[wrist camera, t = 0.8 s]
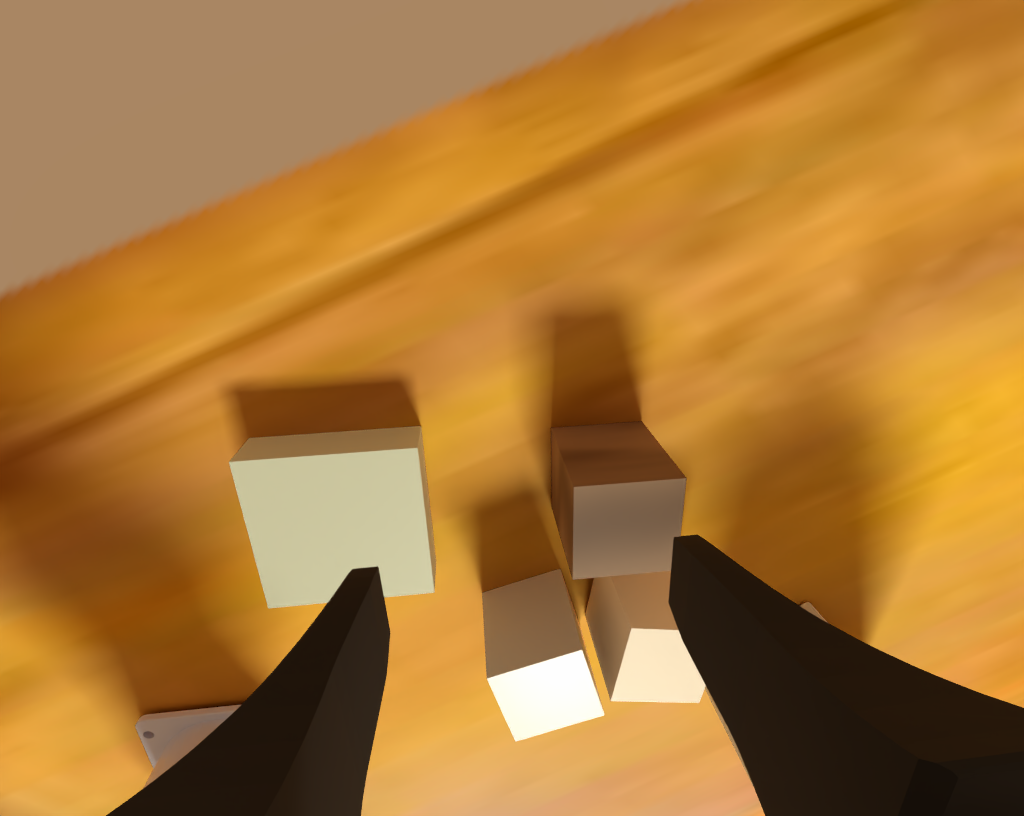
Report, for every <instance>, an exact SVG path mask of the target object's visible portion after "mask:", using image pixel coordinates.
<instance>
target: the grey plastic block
mask: <svg viewBox="0 0 1024 816" xmlns="http://www.w3.org/2000/svg"><path fill="white" fill-rule="evenodd" d="M482 599H483V618H484V636H485V654H486V672H487V680H488V682H489V684H490V687H491V689H492V691H493V693H494V695H495V698H496V700H497V702H498V704H499V706H500V709H501V711H502V713H503V715H504V717H505V719H506V722H507V724H508V726H509V728H510V730H511V733H512V735H513V737H514V739H515V741H519V740H522V739H526V738H529V737H533V736H536V735H539V734H543V733H546V732H549V731H553V730H556V729H559V728H563V727H566V726H569V725H573V724H576V723H580V722H583V721H586V720H590V719H593V718H596V717H600V716H603V715H604V712H603V708H602V704H601V701H600V697H599V693H598V690H597V686H596V683H595V679H594V675H593V672H592V668H591V664H590V661H589V657H588V653H587V650H586V646H585V643H584V639H583V635H582V632H581V628H580V625H579V622H578V619H577V616H576V613H575V610H574V607H573V604H572V601H571V598H570V595H569V592H568V589H567V586H566V583H565V581H564V578H563V575H562V572H561V569H557V570H554V571H551V572H547V573H544V574H541V575H538V576H534V577H531V578H528V579H525V580H521V581H518V582H515V583H512V584H509V585H505V586H502V587H499V588H496V589H492V590H489V591H486V592H483V593H482Z"/></svg>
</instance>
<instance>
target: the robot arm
mask: <svg viewBox="0 0 1024 816" xmlns="http://www.w3.org/2000/svg"><path fill="white" fill-rule="evenodd" d="M668 603H669V606H670V608H671V611H672V614H673V617H674V620H675V622H676V625H677V628H678V630H679V633H680V635H681V638H682V640H683V643H684V645H685V647H686V649H687V650H688V652H689V654H690V656H691V658H692V660H693V662H694V664H695V666H696V668H697V670H698V672H699V674H700V676H701V677H702V679H703V681H704V683H705V685H706V687H707V689H708V691H709V693H710V695H711V696H712V698H713V700H714V702H715V704H716V706H717V708H718V710H719V712H720V714H721V715H722V717H723V719H724V721H725V723H726V725H727V727H728V729H729V731H730V733H731V735H732V737H733V739H734V741H735V743H736V745H737V748H738V750H739V752H740V754H741V757H742V759H743V762H744V764H745V767H746V769H747V771H748V774H749V776H750V779H751V781H752V783H753V786H754V788H755V791H756V793H757V796H758V798H759V801H760V803H761V806H762V808H763V811H764V814H765V816H1024V708H1022V707H1019V706H1016V705H1013V704H1010V703H1008V702H1005V701H1002V700H999V699H996V698H993V697H990V696H987V695H984V694H981V693H979V692H976V691H973V690H971V689H968V688H966V687H963V686H961V685H958V684H956V683H953V682H951V681H948V680H946V679H943V678H940V677H938V676H936V675H933V674H931V673H929V672H926V671H924V670H922V669H919V668H917V667H915V666H912V665H910V664H908V663H906V662H904V661H901V660H899V659H897V658H895V657H893V656H891V655H889V654H886V653H884V652H882V651H880V650H878V649H876V648H874V647H872V646H870V645H868V644H866V643H864V642H862V641H860V640H858V639H856V638H854V637H852V636H851V635H849V634H847V633H845V632H843V631H842V630H840V629H838V628H836V627H834V626H832V625H831V624H829V623H827V622H825V621H823V620H822V619H820V618H818V617H817V616H815V615H813V614H812V613H810V612H808V611H807V610H805V609H804V608H802V607H801V606H799V605H797V604H796V603H794V602H793V601H791V600H789V599H788V598H786V597H785V596H783V595H782V594H780V593H779V592H777V591H776V590H774V589H773V588H771V587H770V586H768V585H767V584H766V583H764V582H763V581H761V580H760V579H758V578H757V577H756V576H754V575H753V574H751V573H750V572H749V571H747V570H746V569H744V568H743V567H742V566H740V565H739V564H738V563H736V562H735V561H733V560H732V559H731V558H729V557H728V556H727V555H725V554H724V553H723V552H721V551H720V550H719V549H717V548H716V547H714V546H713V545H712V544H710V543H709V542H708V541H706V540H705V539H703V538H702V537H700V536H699V535H690V536H679V537H674V539H673V551H672V564H671V576H670V588H669V600H668ZM389 641H390V628H389V623H388V617H387V612H386V606H385V600H384V595H383V589H382V584H381V578H380V573H379V567H378V566H376V567H366V568H356V569H352V570H351V571H350V572H349V573H348V575H347V576H346V577H345V579H344V580H343V582H342V583H341V585H340V586H339V588H338V589H337V590H336V592H335V593H334V595H333V596H332V598H331V599H330V600H329V602H328V603H327V604H326V606H325V607H324V609H323V610H322V611H321V613H320V614H319V615H318V617H317V618H316V619H315V621H314V622H313V623H312V624H311V626H310V627H309V628H308V630H307V631H306V632H305V634H304V635H303V636H302V637H301V639H300V640H299V641H298V642H297V644H296V645H295V646H294V647H293V648H292V650H291V651H290V652H289V653H288V654H287V656H286V657H285V658H284V659H283V660H282V661H281V663H280V664H279V665H278V666H277V667H276V669H275V670H274V671H273V672H272V673H271V674H270V675H269V676H268V677H267V679H266V680H265V681H264V682H263V683H262V684H261V685H260V686H259V687H258V688H257V689H256V690H255V691H254V692H253V693H252V694H251V695H250V697H249V698H248V699H247V700H246V701H245V702H244V703H243V704H241V705H232V706H222V707H213V708H203V709H193V710H184V711H174V712H165V713H155V714H147V715H143V716H141V717H140V718H139V720H138V721H137V723H136V725H135V727H136V730H137V732H138V735H139V737H140V739H141V741H142V744H143V746H144V748H145V751H146V753H147V755H148V757H149V760H150V762H151V764H152V767H153V771H152V773H151V775H150V777H149V779H148V781H147V782H146V784H145V786H144V788H143V789H142V790H141V791H140V792H138V793H137V794H136V795H134V796H133V797H132V798H130V799H129V800H128V801H126V802H125V803H123V804H122V805H120V806H119V807H118V808H116V809H115V810H113V811H112V812H110V813H109V814H108V815H106V816H361V809H362V800H363V793H364V787H365V781H366V775H367V770H368V765H369V760H370V755H371V750H372V745H373V740H374V735H375V731H376V726H377V721H378V716H379V711H380V706H381V701H382V696H383V691H384V686H385V680H386V675H387V665H388V654H389Z"/></svg>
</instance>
